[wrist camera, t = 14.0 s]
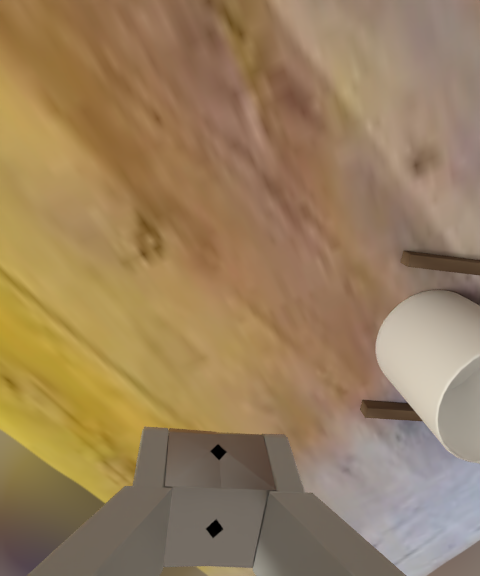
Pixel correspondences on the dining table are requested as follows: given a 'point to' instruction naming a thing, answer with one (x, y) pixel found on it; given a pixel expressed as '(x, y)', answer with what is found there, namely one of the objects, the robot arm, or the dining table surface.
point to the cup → (437, 365)
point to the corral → (426, 262)
